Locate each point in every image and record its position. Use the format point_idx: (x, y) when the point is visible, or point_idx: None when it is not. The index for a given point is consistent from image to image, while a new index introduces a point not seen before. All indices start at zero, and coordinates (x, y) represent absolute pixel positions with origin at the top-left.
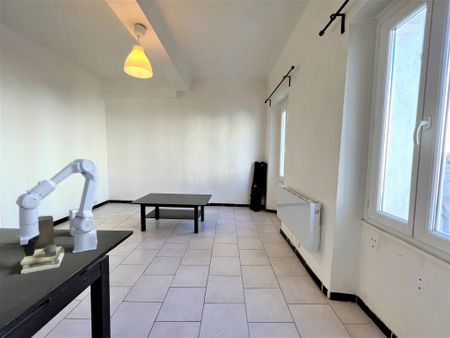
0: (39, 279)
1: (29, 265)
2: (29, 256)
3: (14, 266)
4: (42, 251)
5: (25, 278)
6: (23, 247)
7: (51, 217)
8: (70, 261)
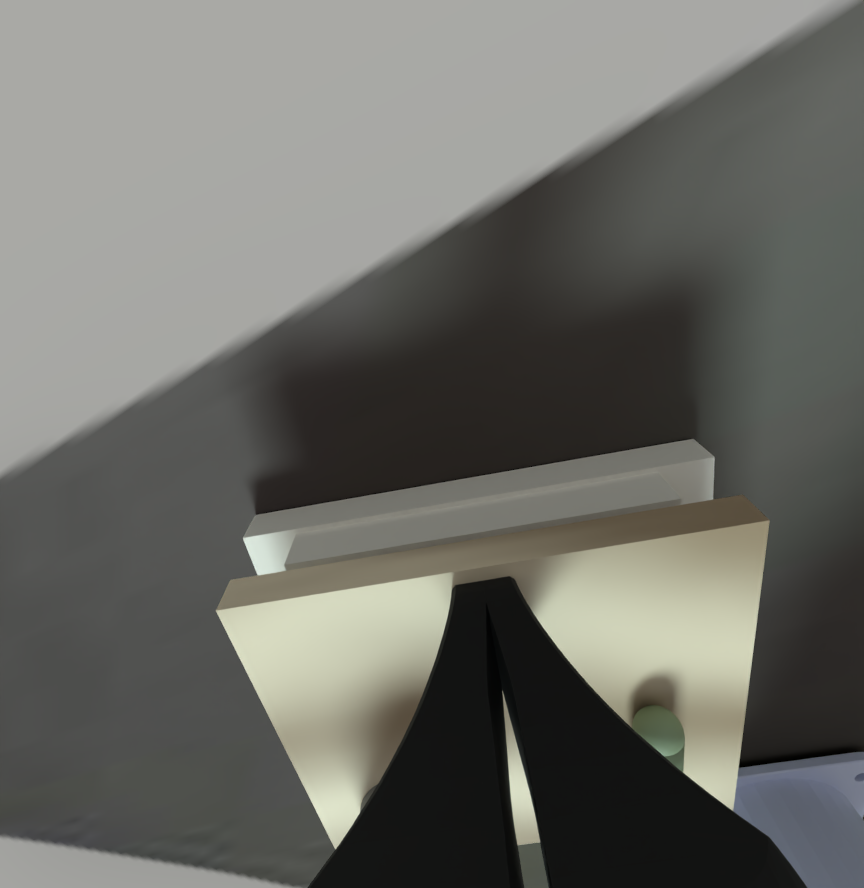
0: (112, 710)
1: None
2: None
3: (536, 311)
4: (618, 696)
5: (144, 597)
6: (394, 769)
7: None
8: None
